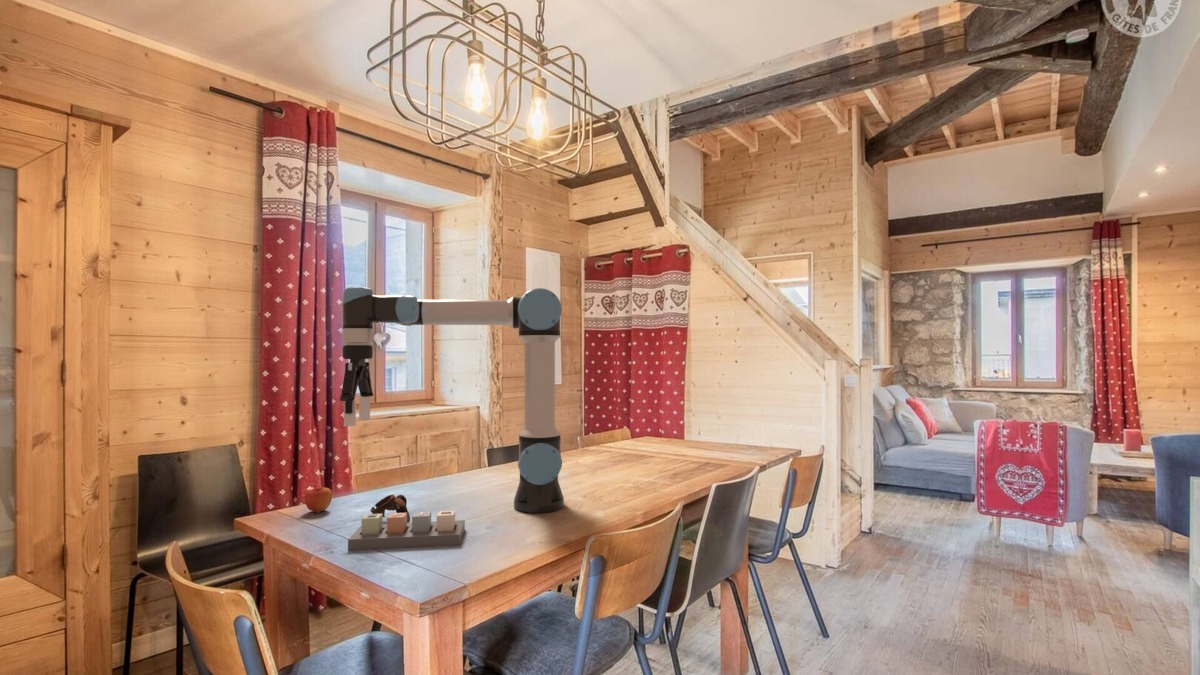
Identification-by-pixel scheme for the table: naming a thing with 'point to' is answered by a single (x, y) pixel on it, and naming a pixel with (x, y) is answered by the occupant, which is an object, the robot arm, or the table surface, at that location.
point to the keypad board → (407, 538)
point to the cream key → (446, 521)
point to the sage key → (372, 524)
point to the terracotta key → (397, 523)
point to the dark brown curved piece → (391, 505)
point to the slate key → (421, 522)
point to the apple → (318, 499)
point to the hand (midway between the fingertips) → (357, 423)
